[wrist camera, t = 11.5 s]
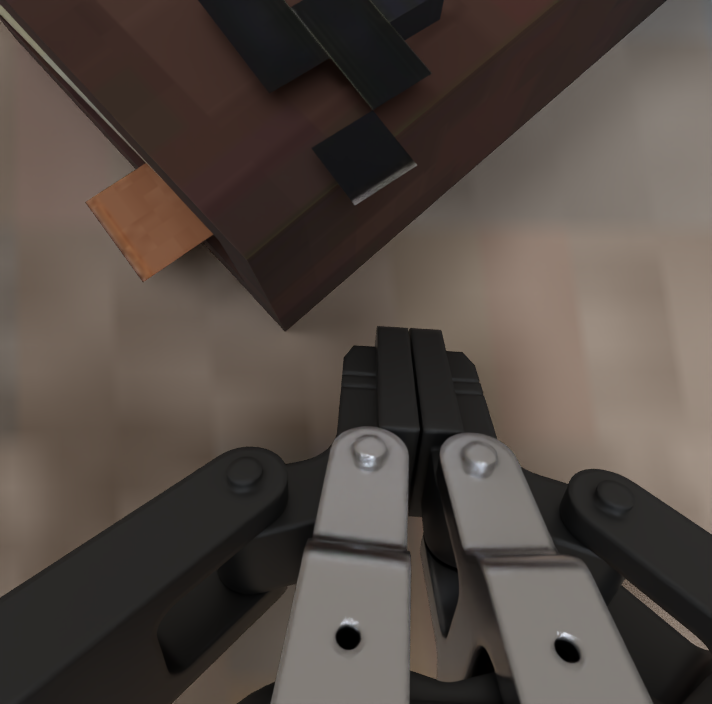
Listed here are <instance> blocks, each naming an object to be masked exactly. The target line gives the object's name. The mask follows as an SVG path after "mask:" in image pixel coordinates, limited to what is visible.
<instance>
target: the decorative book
mask: <svg viewBox="0 0 712 704" xmlns="http://www.w3.org/2000/svg"><path fill="white" fill-rule="evenodd" d="M665 1H666V0H0V20H1V21H2V22H3V23H4V25H5V26H6V27H7V28H8V30H9V31H10V32H11V33H12V35H13V36H14V37H15V38H16V39H17V40H18V42H19V43H20V44H21V45H22V46H23V47H24V48H25V49H26V50H27V51H28V52H29V54H30V55H31V56H32V57H33V58H34V59H35V60H36V61H37V62H38V63H39V64H40V65H41V67H42V68H43V69H44V70H45V71H46V72H47V73H48V74H49V75H50V76H51V77H52V79H53V80H54V81H55V82H56V83H57V84H58V85H59V86H60V87H61V88H62V89H63V90H64V92H65V93H66V94H67V95H68V96H69V97H70V98H71V99H72V100H73V101H74V102H75V104H76V105H77V106H78V107H79V108H80V109H81V110H82V111H83V112H84V113H85V114H86V116H87V117H88V118H89V119H90V120H91V121H92V122H93V123H94V124H95V125H96V126H97V127H98V129H99V130H100V131H101V132H102V133H103V134H104V135H105V136H106V137H107V138H108V139H109V141H110V142H111V143H112V144H113V145H114V146H115V147H116V148H117V149H118V150H119V151H120V152H121V154H122V155H123V156H124V157H125V158H126V159H127V160H128V161H129V162H130V163H131V164H132V166H133V167H134V168H135V169H136V170H134V171H133V172H131V173H130V174H128V175H127V176H125V177H123V178H122V179H120V180H119V181H117V182H116V183H114V184H113V185H111V186H110V187H108V188H106V189H105V190H103V191H102V192H100V193H99V194H97V195H96V196H94V197H92V198H91V199H89V200H88V201H86V202H85V203H86V204H87V205H88V207H89V208H90V210H91V211H92V212H93V214H94V215H95V216H96V218H97V219H98V221H99V222H100V223H101V225H102V226H103V228H104V229H105V230H106V232H107V233H108V234H109V236H110V237H111V239H112V240H113V241H114V243H115V244H116V246H117V247H118V248H119V250H120V251H121V252H122V254H123V255H124V257H125V258H126V259H127V261H128V262H129V264H130V265H131V266H132V268H133V269H134V270H135V272H136V273H137V275H138V276H139V277H140V279H141V280H142V282H144V281H146V280H147V279H149V278H150V277H151V276H153V275H154V274H156V273H157V272H159V271H160V270H162V269H163V268H165V267H166V266H168V265H169V264H171V263H172V262H173V261H175V260H176V259H178V258H179V257H181V256H182V255H184V254H185V253H187V252H188V251H190V250H191V249H193V248H194V247H195V246H197V245H198V244H200V243H201V242H203V243H204V244H205V245H206V246H207V247H208V248H209V249H210V250H211V251H212V253H213V254H214V255H215V256H216V257H217V258H218V259H219V260H220V261H221V262H222V263H223V264H224V266H225V267H226V268H227V269H228V270H229V271H230V272H231V273H232V274H233V275H234V276H235V278H236V279H237V280H238V281H239V282H240V283H241V284H242V285H243V286H244V287H245V288H246V290H247V291H248V292H249V293H250V294H251V295H252V296H253V297H254V298H255V299H256V300H257V301H258V303H259V304H260V305H261V306H262V307H263V308H264V309H265V310H266V311H267V312H268V313H269V315H270V316H271V317H272V318H273V319H274V320H275V321H276V322H277V323H278V324H279V325H280V326H281V328H282V329H283V330H284V331H286V330H288V329H289V328H290V327H291V326H292V325H293V324H294V323H296V322H297V321H298V320H299V319H300V318H301V317H303V316H304V315H305V314H306V313H307V312H308V311H309V310H311V309H312V308H313V307H314V306H315V305H316V304H317V303H319V302H320V301H321V300H322V299H323V298H324V297H326V296H327V295H328V294H329V293H330V292H331V291H332V290H334V289H335V288H336V287H337V286H338V285H339V284H341V283H342V282H343V281H344V280H345V279H346V278H347V277H349V276H350V275H351V274H352V273H353V272H354V271H355V270H357V269H358V268H359V267H360V266H361V265H362V264H364V263H365V262H366V261H367V260H368V259H369V258H370V257H372V256H373V255H374V254H375V253H376V252H377V251H379V250H380V249H381V248H382V247H383V246H384V245H385V244H387V243H388V242H389V241H390V240H391V239H392V238H393V237H395V236H396V235H397V234H398V233H399V232H400V231H402V230H403V229H404V228H405V227H406V226H407V225H408V224H410V223H411V222H412V221H413V220H414V219H415V218H416V217H418V216H419V215H420V214H421V213H422V212H423V211H425V210H426V209H427V208H428V207H429V206H430V205H431V204H433V203H434V202H435V201H436V200H437V199H438V198H440V197H441V196H442V195H443V194H444V193H445V192H446V191H448V190H449V189H450V188H451V187H452V186H453V185H454V184H456V183H457V182H458V181H459V180H460V179H461V178H463V177H464V176H465V175H466V174H467V173H468V172H469V171H471V170H472V169H473V168H474V167H475V166H476V165H478V164H479V163H480V162H481V161H482V160H483V159H484V158H486V157H487V156H488V155H489V154H490V153H491V152H492V151H494V150H495V149H496V148H497V147H498V146H499V145H501V144H502V143H503V142H504V141H505V140H506V139H507V138H509V137H510V136H511V135H512V134H513V133H514V132H515V131H517V130H518V129H519V128H520V127H521V126H522V125H524V124H525V123H526V122H527V121H528V120H529V119H530V118H532V117H533V116H534V115H535V114H536V113H537V112H539V111H540V110H541V109H542V108H543V107H544V106H545V105H547V104H548V103H549V102H550V101H551V100H552V99H553V98H555V97H556V96H557V95H558V94H559V93H560V92H562V91H563V90H564V89H565V88H566V87H567V86H568V85H570V84H571V83H572V82H573V81H574V80H575V79H577V78H578V77H579V76H580V75H581V74H582V73H583V72H585V71H586V70H587V69H588V68H589V67H590V66H591V65H593V64H594V63H595V62H596V61H597V60H598V59H600V58H601V57H602V56H603V55H604V54H605V53H606V52H608V51H609V50H610V49H611V48H612V47H613V46H614V45H616V44H617V43H618V42H619V41H620V40H621V39H623V38H624V37H625V36H626V35H627V34H628V33H629V32H631V31H632V30H633V29H634V28H635V27H636V26H638V25H639V24H640V23H641V22H642V21H643V20H644V19H646V18H647V17H648V16H649V15H650V14H651V13H652V12H654V11H655V10H656V9H657V8H658V7H659V6H661V5H662V4H663V3H664V2H665Z"/></svg>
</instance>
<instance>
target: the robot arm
mask: <svg viewBox="0 0 712 704" xmlns="http://www.w3.org/2000/svg"><path fill="white" fill-rule="evenodd" d="M408 514H409V516H415V517H422V521H423V531H424V532H423V536H422V541H421V547H420V554H421V560H422V566H423V572H424V577H425V583H426V589H427V595H428V601H429V606H430V612H431V618H432V624H433V629H434V635H435V641H436V648H437V680H436V679H433V678H430V677H427V676H424V675H422V674H419V673H416V672H413V671H410V612H411V555H410V551H407V520H408ZM625 578H626V579H627V580H628V581H629V582H630V583H632V584H633V585H634V586H635V587H637V588H638V589H639V590H640V591H642V592H643V593H644V594H645V595H646V596H648V597H649V598H650V599H651V600H653V601H654V602H655V603H656V604H658V605H659V606H660V607H661V608H662V609H664V610H665V611H666V612H667V613H669V614H670V615H671V616H672V617H674V618H675V619H676V620H677V621H678V622H680V623H681V624H682V625H683V626H685V627H686V628H687V629H688V630H690V631H691V632H692V633H693V634H694V635H696V636H697V637H698V638H699V639H700V640H701V641H702V642H703V643H704V644H705V645H706V646H707V648H708V649H709V651H708V650H704V649H702V648H699V647H697V646H696V645H694V644H692V643H691V642H690V641H688V640H687V639H686V638H685V637H683V636H682V635H681V634H680V633H679V632H677V631H676V630H675V629H674V628H673V627H671V626H670V625H669V624H668V623H667V622H665V621H664V620H663V619H662V618H660V617H659V616H658V615H657V614H656V613H654V612H653V611H652V610H651V609H650V608H648V607H647V606H646V605H645V604H644V603H642V602H641V601H640V600H639V599H637V598H636V597H635V596H634V595H633V594H631V593H630V592H629V591H628V590H627V589H625V588H624V587H623V586H622V585H621V584H622V583H623V581H624V580H625ZM293 584H297V585H296V590H295V594H294V599H293V603H292V608H291V613H290V617H289V622H288V626H287V631H286V635H285V640H284V645H283V649H282V654H281V658H280V663H279V667H278V672H277V677H276V681H275V682H274V683H271V684H269V685H266V686H264V687H262V688H261V689H259V690H257V691H255V692H253V693H251V694H250V695H248V696H247V697H245V698H244V699H243V700H241V701H240V702H238V703H237V704H712V534H710V533H709V532H707V531H706V530H704V529H703V528H701V527H700V526H698V525H697V524H695V523H694V522H692V521H691V520H689V519H688V518H686V517H685V516H683V515H682V514H680V513H679V512H677V511H676V510H674V509H673V508H671V507H670V506H668V505H667V504H665V503H664V502H662V501H661V500H659V499H658V498H656V497H655V496H653V495H652V494H650V493H649V492H647V491H646V490H644V489H643V488H641V487H640V486H639V485H637V484H636V483H634V482H632V481H631V480H629V479H627V478H625V477H623V476H621V475H619V474H616V473H614V472H610V471H606V470H600V469H587V470H583V471H580V472H578V473H576V474H575V475H574V476H573V477H572V478H571V480H570V481H569V484H566V483H563V482H560V481H557V480H553V479H550V478H547V477H544V476H540V475H537V474H535V473H532V472H530V471H528V470H526V469H524V468H522V467H520V465H519V462H518V460H517V458H516V456H515V455H514V453H513V452H512V451H511V450H510V449H509V448H508V447H507V446H506V445H505V444H503V443H502V442H500V441H499V440H497V437H496V434H495V430H494V427H493V424H492V420H491V417H490V414H489V410H488V407H487V404H486V400H485V397H484V396H483V391H482V387H481V384H480V383H479V377H478V374H477V371H476V367H475V365H474V364H473V363H472V362H471V361H470V360H469V359H468V358H467V357H466V356H465V355H464V354H463V352H452V351H446V348H445V344H444V340H443V335H442V331H441V330H433V329H418V328H410V329H409V332H408V328H400V327H384V326H377V330H376V340H375V347H370V346H353V347H352V348H351V350H350V351H349V352H348V353H347V354H346V355H345V357H344V361H343V373H342V383H341V395H340V406H339V417H338V428H337V435H336V438H335V440H334V442H333V443H332V445H331V446H330V447H329V448H328V449H327V450H326V451H324V452H323V453H321V454H320V455H318V456H316V457H313V458H311V459H308V460H304V461H299V462H294V463H289V464H285V463H284V461H283V460H282V459H281V458H280V457H279V456H278V455H277V454H275V453H274V452H272V451H270V450H267V449H264V448H260V447H242V448H236V449H233V450H230V451H227V452H225V453H223V454H221V455H220V456H218V457H216V458H215V459H213V460H212V461H210V462H209V463H207V464H206V465H204V466H203V467H201V468H199V469H198V470H196V471H195V472H193V473H192V474H190V475H189V476H187V477H186V478H184V479H183V480H181V481H179V482H178V483H176V484H175V485H173V486H172V487H170V488H169V489H167V490H166V491H164V492H162V493H161V494H159V495H158V496H156V497H155V498H153V499H152V500H150V501H149V502H147V503H146V504H144V505H142V506H141V507H139V508H138V509H136V510H135V511H133V512H132V513H130V514H129V515H127V516H125V517H124V518H122V519H121V520H119V521H118V522H116V523H115V524H113V525H112V526H110V527H109V528H107V529H105V530H104V531H102V532H101V533H99V534H98V535H96V536H95V537H93V538H92V539H90V540H88V541H87V542H85V543H84V544H82V545H81V546H79V547H78V548H76V549H75V550H73V551H72V552H70V553H68V554H67V555H65V556H64V557H62V558H61V559H59V560H58V561H56V562H55V563H53V564H51V565H50V566H48V567H47V568H45V569H44V570H42V571H41V572H39V573H38V574H36V575H35V576H33V577H31V578H30V579H28V580H27V581H25V582H24V583H22V584H21V585H19V586H18V587H16V588H14V589H13V590H11V591H10V592H8V593H7V594H5V595H4V596H2V597H1V598H0V704H172V703H173V702H174V701H175V700H176V699H177V698H178V697H179V696H180V695H181V694H182V693H183V692H184V691H185V690H186V689H187V688H188V687H189V686H190V685H191V684H192V683H193V682H194V681H195V680H196V679H197V678H198V677H199V676H200V675H201V674H202V673H203V672H204V671H205V670H206V669H207V668H208V667H209V666H210V665H211V664H213V663H214V662H215V661H216V660H217V659H218V658H219V657H220V656H221V655H222V654H223V653H224V652H225V651H226V650H227V649H228V648H229V647H230V646H231V645H232V644H233V643H234V642H235V641H236V640H237V639H238V638H239V637H240V636H241V635H242V634H243V633H244V632H245V631H246V630H247V629H248V628H249V627H250V626H251V625H252V624H253V623H254V622H255V621H256V620H258V619H259V618H260V617H261V616H262V615H263V614H264V613H265V612H266V611H267V610H268V609H269V608H270V607H271V606H272V605H273V604H274V603H275V602H276V601H277V600H278V599H279V598H280V597H281V596H282V595H283V593H284V592H285V590H286V589H287V587H288V586H290V585H293Z"/></svg>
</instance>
